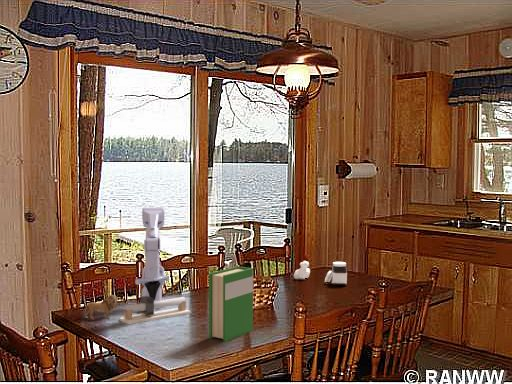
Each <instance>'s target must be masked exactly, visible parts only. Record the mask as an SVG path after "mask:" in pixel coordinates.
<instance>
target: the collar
mask: <svg viewBox="0 0 512 384" xmlns="http://www.w3.org/2000/svg"><path fill="white" fill-rule="evenodd" d="M139 299H140V301H139V302H140V303H139V304H141V303H146V310H144V311H139V314H145V315H147V316H148V315H153V314H154V312H155V309H154V298H151V297H149V296H142V295H141V296H140V298H139Z"/></svg>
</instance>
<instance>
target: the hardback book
mask: <svg viewBox="0 0 512 384" xmlns="http://www.w3.org/2000/svg"><path fill="white" fill-rule="evenodd" d="M253 316H254V268H252V267H245V266H233V267H230V268H229V267H228V268H225V269H222V270H216V271H212V272H209V273H208V339H211V340H212V339H213V338H218V339H222V341H223V342H228V341H230V340H233V339H235V338H238V337H240V336H243V335H245V334H248V333H250V332H252V331H253V330H254V325H253V323H254V321H253V320H254V317H253Z"/></svg>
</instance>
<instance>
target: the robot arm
mask: <svg viewBox="0 0 512 384" xmlns="http://www.w3.org/2000/svg"><path fill="white" fill-rule="evenodd" d="M141 210H142V211H141V215H142V216H141V220H142V225H143V228H144V227H145V228H146V229H145V239H144V242H143V246H144V247H143V249H144V250H143V251H144V257H145V260H144V263H145V265H144V267H143V269H142V274H141V278H140V277H139V278H135V279H134V280H135V282H134V283H135V285H141V284H142V286H143V287H142V290H141V297H142V296H149V297H151V298H154V301H160V300H163V299H162V295H163V294H162V288H163V287H164V285H165V284H166V283H165V281H170V276H169V275H165V268H164V266H162V265H161V264H160V252H161V239H160V238H161V236H160V235H161V234H160V232H161V231H160V229H161V228H162V227H164V224H165V207H163V206H162V207H143V208H142V209H141Z"/></svg>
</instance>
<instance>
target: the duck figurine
mask: <svg viewBox="0 0 512 384" xmlns="http://www.w3.org/2000/svg"><path fill="white" fill-rule="evenodd" d="M299 266H300V268H299V269H296V270H295V272H293V273H294V274H293V278H294V279H295V280H306V279H305V278H307V279H308V278H309V277H310V274H311V269H310V268H308V267H310V263H309V261H306V260H303V261H302V262H299Z"/></svg>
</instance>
